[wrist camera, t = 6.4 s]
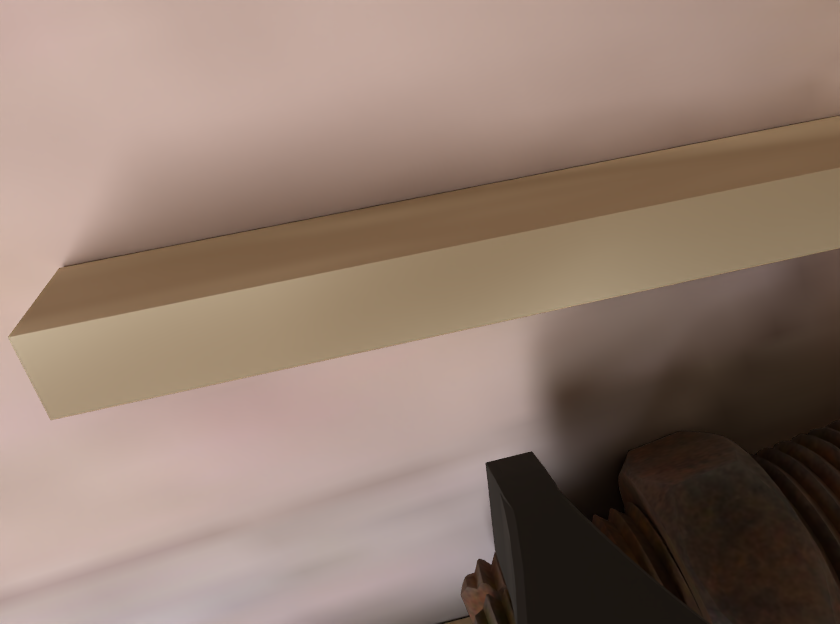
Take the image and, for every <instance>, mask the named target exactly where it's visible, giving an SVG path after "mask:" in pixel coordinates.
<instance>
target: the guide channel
mask: <svg viewBox="0 0 840 624" xmlns="http://www.w3.org/2000/svg"><path fill="white" fill-rule="evenodd" d="M838 248H840V116H835V117H830V118H825V119H820V120H814V121H809V122H804V123H799V124H794V125H789V126H784V127H779V128H774V129H768V130H763V131H758V132H753V133H748V134H743V135H738V136H733V137H727V138H722V139H717V140H712V141H707V142H702V143H697V144H692V145H687V146H681V147H676V148H671V149H666V150H661V151H656V152H651V153H646V154H640V155H635V156H630V157H625V158H620V159H615V160H610V161H605V162H600V163H594V164H589V165H584V166H579V167H574V168H569V169H564V170H559V171H553V172H548V173H543V174H538V175H533V176H528V177H523V178H518V179H513V180H507V181H502V182H497V183H492V184H487V185H482V186H477V187H472V188H467V189H461V190H456V191H451V192H446V193H441V194H436V195H431V196H426V197H420V198H415V199H410V200H405V201H400V202H395V203H390V204H385V205H380V206H374V207H369V208H364V209H359V210H354V211H349V212H344V213H339V214H333V215H328V216H323V217H318V218H313V219H308V220H303V221H298V222H293V223H287V224H282V225H277V226H272V227H267V228H262V229H257V230H252V231H246V232H241V233H236V234H231V235H226V236H221V237H216V238H211V239H206V240H200V241H195V242H190V243H185V244H180V245H175V246H170V247H165V248H159V249H154V250H149V251H144V252H139V253H134V254H129V255H124V256H119V257H113V258H108V259H103V260H98V261H93V262H88V263H83V264H78V265H73V266H67V267H62V268H59V269H58V271H57V272H56V273H55V275H54V276H53V277H52V279H51V280H50V281H49V283H48V284H47V285H46V287H45V288H44V289H43V291H42V292H41V293H40V295H39V296H38V297H37V299H36V300H35V302H34V303H33V304H32V306H31V307H30V308H29V310H28V311H27V312H26V314H25V315H24V316H23V318H22V319H21V320H20V322H19V323H18V324H17V326H16V327H15V328H14V330H13V331H12V333H11V334H10V335H9V337H8V338H9V340H10V342H11V344H12V346H13V348H14V350H15V352H16V354H17V356H18V358H19V360H20V362H21V364H22V366H23V368H24V369H25V371H26V373H27V375H28V377H29V379H30V381H31V383H32V385H33V387H34V389H35V391H36V393H37V395H38V397H39V399H40V401H41V402H42V404H43V406H44V408H45V410H46V412H47V414H48V416H49V418H50V420H54V419H59V418H63V417H68V416H73V415H77V414H82V413H86V412H91V411H95V410H100V409H105V408H109V407H114V406H118V405H123V404H128V403H132V402H137V401H141V400H146V399H150V398H155V397H160V396H164V395H169V394H173V393H178V392H183V391H187V390H192V389H196V388H201V387H206V386H210V385H215V384H219V383H224V382H228V381H233V380H238V379H242V378H247V377H251V376H256V375H261V374H265V373H270V372H274V371H279V370H283V369H288V368H293V367H297V366H302V365H306V364H311V363H316V362H320V361H325V360H329V359H334V358H339V357H343V356H348V355H352V354H357V353H361V352H366V351H371V350H375V349H380V348H384V347H389V346H394V345H398V344H403V343H407V342H412V341H416V340H421V339H426V338H430V337H435V336H439V335H444V334H449V333H453V332H458V331H462V330H467V329H472V328H476V327H481V326H485V325H490V324H494V323H499V322H504V321H508V320H513V319H517V318H522V317H527V316H531V315H536V314H540V313H545V312H550V311H554V310H559V309H563V308H568V307H572V306H577V305H582V304H586V303H591V302H595V301H600V300H605V299H609V298H614V297H618V296H623V295H627V294H632V293H637V292H641V291H646V290H650V289H655V288H660V287H664V286H669V285H673V284H678V283H683V282H687V281H692V280H696V279H701V278H705V277H710V276H715V275H719V274H724V273H728V272H733V271H738V270H742V269H747V268H751V267H756V266H760V265H765V264H770V263H774V262H779V261H783V260H788V259H793V258H797V257H802V256H806V255H811V254H816V253H820V252H825V251H829V250H834V249H838ZM445 624H473V622H472V620H471V618H470V617H467V618H464V619H460V620H456V621H452V622H448V623H445Z"/></svg>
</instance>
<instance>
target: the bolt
mask: <svg viewBox="0 0 840 624" xmlns="http://www.w3.org/2000/svg"><path fill="white" fill-rule="evenodd" d="M619 489H620V493H621V497H622V501H623V505H624V508H625V512H624V513H622V512H620V511H618V510H616V509H612V508H610V512H609V517H608V520H606V519H604V518H602V517H600V516H598V515H593V519H592V523H593V524H594V525H595V526H596V527H597V528H598V529H599V530H600V531H601V532H602V533H603V534H604V535H605V536H606V537H608V538H609V539H610V540H611V541H612V542H613V543H614V544H615V545H616V546H617V547H619V548H620V549H621V550H622V551H623V552H624V553H625V554H626V555H627V556H628V557H629V558H631V559H632V560H633V561H634V562H635V563H636V564H638V565H639V566H640V567H641V568H642V569H643V570H644V571H646V572H647V573H648V574H649V575H650V576H651V577H653V578H654V579H655V580H656V581H658V582H659V583H660V584H661V585H662V586H664V587H665V588H666V589H667V590H668V591H670V592H671V593H672V594H673V595H674V596H676V597H677V598H678V599H679V600H681V601H682V602H683V603H684V604H686V605H687V606H688V607H690V608H691V609H692V610H693V611H695V612H696V613H697V614H699V615H700V616H701V617H702V618H704V619H705V620H706V621H708V622H709V623H710V624H840V420H837V421H834V422H832V423H831V424H829V425H828V426H826V427H825V428H819V429H813V430H811V431H810V432H809V434H808V435H807V434H800V435H798V436H796V437H794V438H792V440H791V441H782V442H779V443H778V444H776V445H775V447H774V448H763V449H762V450H760V451H759V452H758V454H757V455H749V454H748V453H747V452H746V451H745V450H743V449H742V448H741V447H740V446H739V445H737V444H736V443H735V442H733V441H731V440H729V439H728V438H726V437H724V436H720V435H715V434H711V433H706V432H691V431H679V432H677V433H674V434H671V435H669V436H666V437H664V438H661V439H658V440H656V441H653V442H651V443H648V444H646V445H643V446H640V447H638V448H635V449H633V450H630V451H628V454H627V456H626V459H625V461H624V464H623V466H622V469H621V471H620V474H619ZM461 597H462V599H463V601H464V604H465V606H466V608H467V611H468V613H469V615H470V618H471V620H472V622H473V624H516V622H515V617H514V611H513V606H512V601H511V598H510V595H509V592H508V589H507V586H506V583H505V579H504V576H503V573H502V570H501V567H500V564H499V561H498V558H497V554H496V552H495V553H494V557H493V561H492V565H491V564H489V563H488V562H486V561H485V560H482V559H478V561H477V565H476V570H475V573H472V574H469V575H467V576H466V577H465V579H464V582H463V585H462V591H461Z"/></svg>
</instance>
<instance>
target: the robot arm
mask: <svg viewBox="0 0 840 624" xmlns="http://www.w3.org/2000/svg"><path fill="white" fill-rule="evenodd" d="M486 471H487V480H488V489H489V498H490V507H491V516H492V525H493V534H494V543H495V551H496V554H497V558H498V561H499V564H500V567H501V570H502V573H503V576H504V579H505V583H506V586H507V589H508V592H509V595H510V598H511V601H512V606H513V611H514V617H515V622H516V624H710V623H709V622H708V621H706V620H705V619H704V618H702V617H701V616H700V615H699V614H697V613H696V612H695V611H693V610H692V609H691V608H690V607H688V606H687V605H686V604H684V603H683V602H682V601H681V600H679V599H678V598H677V597H676V596H674V595H673V594H672V593H671V592H670V591H668V590H667V589H666V588H665V587H664V586H662V585H661V584H660V583H659V582H658V581H656V580H655V579H654V578H653V577H651V576H650V575H649V574H648V573H647V572H646V571H644V570H643V569H642V568H641V567H640V566H639V565H638V564H636V563H635V562H634V561H633V560H632V559H631V558H629V557H628V556H627V555H626V554H625V553H624V552H623V551H622V550H621V549H620V548H619V547H617V546H616V545H615V544H614V543H613V542H612V541H611V540H610V539H609V538H608V537H606V536H605V535H604V534H603V533H602V532H601V531H600V530H599V529H598V528H597V527H596V526H595V525H594V524H593V523H591V522H590V521H589V520H588V519H587V518H586V517H585V516H584V515H583V514H582V513H581V512H580V511H579V510H578V509H577V508H576V507H575V506H574V505H573V504H572V503H571V502H570V501H569V500H568V499H567V498H566V497H565V496H564V495H563V494H562V493H561V492H560V491H559V490H558V488H557V486H556V484H555V482H554V481H553V479H552V478H551V476H550V475H549V474H548V472H547V471H546V469H545V468H544V466H543V465H542V464H541V463H540V461H539V460H538V459H537V457H536V456H535V455H534V453H533V452H532V451H531V452H527V453H523V454H519V455H515V456H511V457H507V458H503V459H499V460H495V461H491V462H487V463H486Z"/></svg>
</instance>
